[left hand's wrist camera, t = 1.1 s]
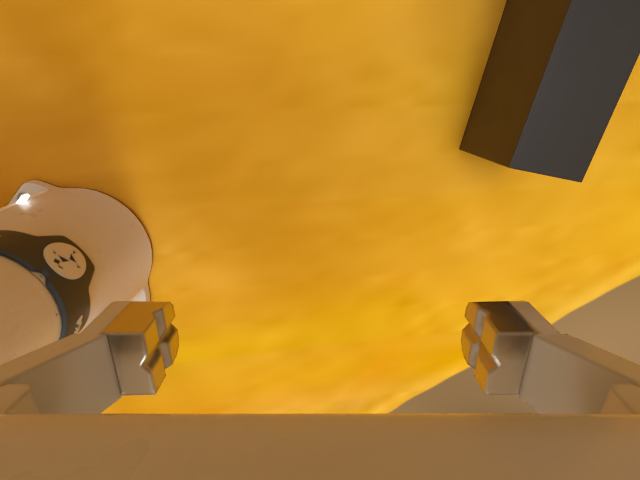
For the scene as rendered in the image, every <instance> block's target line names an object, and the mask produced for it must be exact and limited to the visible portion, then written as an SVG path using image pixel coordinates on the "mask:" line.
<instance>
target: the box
mask: <svg viewBox="0 0 640 480" xmlns="http://www.w3.org/2000/svg"><path fill="white" fill-rule="evenodd" d="M639 54H640V0H507V3H506V6H505V9H504V12H503V15H502V18H501V21H500V24H499V27H498V31H497V34H496V37H495V40H494V43H493V46H492V49H491V52H490V55H489V59H488V62H487V65H486V68H485V71H484V74H483V77H482V80H481V83H480V87H479V90H478V93H477V96H476V99H475V102H474V105H473V108H472V111H471V114H470V118H469V121H468V124H467V127H466V130H465V133H464V136H463V139H462V142H461V146H460V150H463V151H465V152H468V153H471V154H473V155H476V156H479V157H482V158H484V159H487V160H490V161H492V162H495V163H498V164H500V165H503V166H506V167H509V168H513V169H518V170H523V171H528V172H532V173H537V174H542V175H547V176H552V177H557V178H562V179H567V180H572V181H577V182H582V180H583V178H584V176H585V174H586V171H587V169H588V167H589V165H590V162H591V160H592V158H593V156H594V154H595V151H596V149H597V147H598V145H599V143H600V140H601V138H602V136H603V134H604V131H605V129H606V127H607V125H608V123H609V120H610V118H611V116H612V114H613V111H614V109H615V107H616V105H617V103H618V100H619V98H620V96H621V94H622V91H623V89H624V87H625V85H626V83H627V80H628V78H629V76H630V74H631V72H632V69H633V67H634V65H635V63H636V60H637V58H638V56H639Z"/></svg>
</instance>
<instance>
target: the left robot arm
mask: <svg viewBox="0 0 640 480" xmlns="http://www.w3.org/2000/svg"><path fill="white" fill-rule="evenodd" d="M151 267H152V248H151V243H150V240H149V237H148V235H147V233H146V231H145V229H144V227H143V226H142V224H141V223H140V221H139V220H138V219H137V217H136V216H135V215H134V214H133V213H132V212H131V211H130V210H129V209H128V208H127V207H125V206H124V205H123V204H122V203H120V202H119V201H117V200H116V199H114V198H112V197H110V196H108V195H106V194H104V193H101V192H98V191H95V190H90V189H85V188H60V187H56V186H54V185H51V184H48V183H46V182H43V181H39V180H30V181H28V182H26V183H24V184H22V185H21V187H20V188H19V189H18V191H17V192H16V194H15V195H14V196H13V198H12V199H11V201H10V202H9V203H8V205H7V206H5V207H2V208H0V480H640V365H638V364H636V363H633V362H631V361H629V360H626V359H624V358H622V357H619V356H617V355H615V354H612V353H610V352H608V351H605V350H603V349H601V348H598V347H596V346H594V345H591V344H589V343H587V342H584V341H582V340H580V339H577V338H575V337H573V336H570V335H568V334H560V333H559V332H558V331H557V330H556V329H555V328H554V327H553V326H552V325H551V324H550V323H549V322H548V321H547V320H546V319H545V318H544V317H543V316H542V315H541V314H540V313H539V312H538V311H537V310H536V309H535V308H534V307H533V306H532V305H531V304H530V303H529V302H526V301H497V302H469V303H468V305H467V307H466V311H465V317H466V319H467V320H468V322H469V324H468V325H467V326H466V327H465V328H464V329H463V330H462V337H461V344H462V352H463V355H464V358H465V360H466V362H467V364H468V365H470V366H471V367H473V368H474V369H475V374H474V376H475V378H476V380H477V382H478V384H479V385H480V387H481V389H482V391H483V392H484V394H485V395H519V398H521V399H522V400H523V401H525V402H526V403H527V404H528V405H530V406H531V407H532V408H534V409H535V410H536V411H538V412H539V413H540V414H100V413H101V412H103V411H104V410H105V409H107V408H108V407H109V406H110V405H112V404H113V403H114V402H116V401H117V400H118V399H120V398H121V395H155V394H156V392H157V391H158V389H159V387H160V385H161V384H162V382H163V380H164V378H165V376H166V374H165V369H166V368H167V367H169V366H170V365H172V364H173V362H174V360H175V358H176V355H177V351H178V347H179V336H178V330H177V329H176V328H175V327H174V326H173V325H172V324H171V322H172V320H173V319H174V317H175V312H174V307H173V305H172V304H171V302H154V301H150V291H149V286H148V278H149V274H150V271H151Z"/></svg>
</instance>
